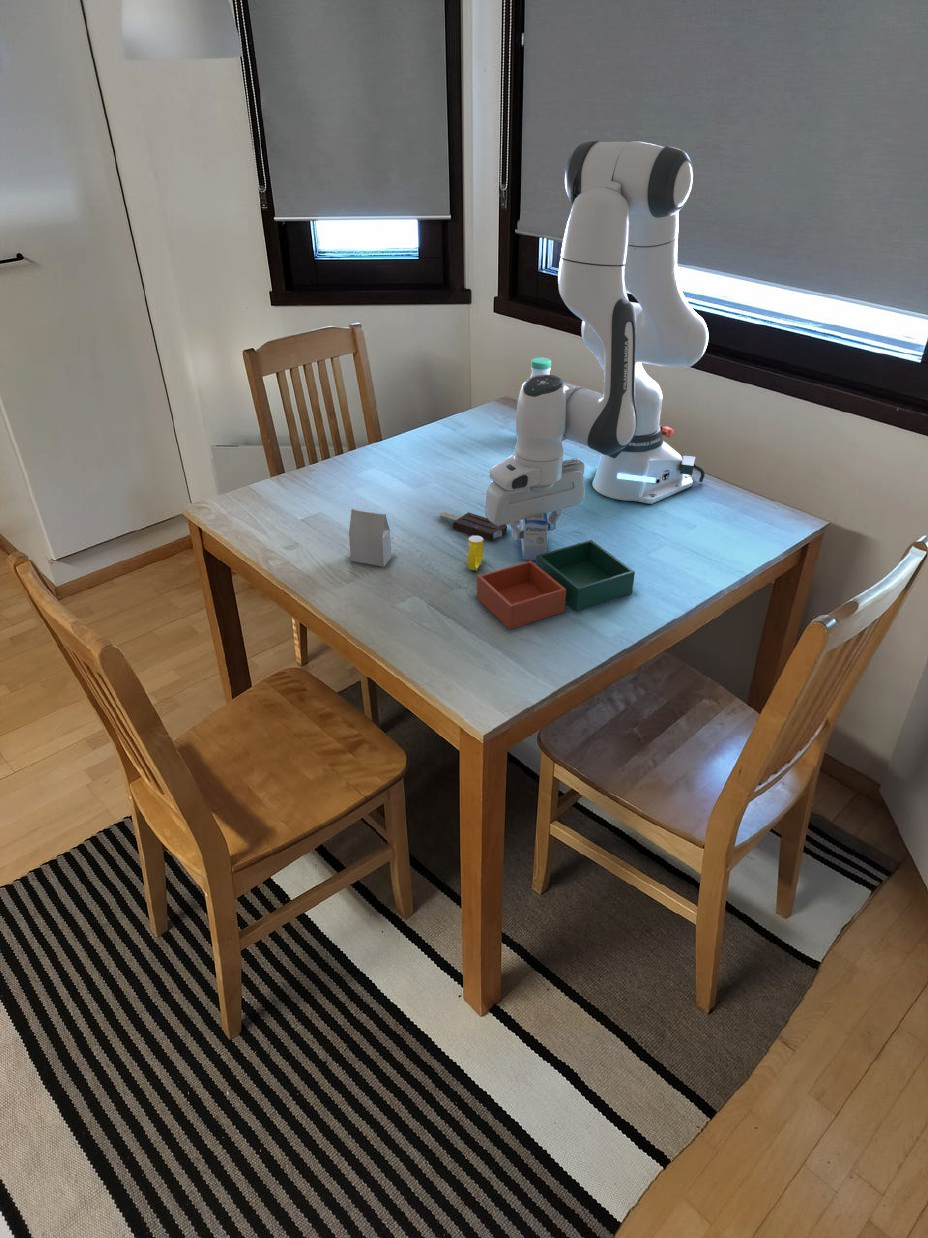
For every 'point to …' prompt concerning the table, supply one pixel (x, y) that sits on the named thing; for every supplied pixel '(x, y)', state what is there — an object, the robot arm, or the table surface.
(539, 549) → the medicine box
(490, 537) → the ice cream bar
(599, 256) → the robot arm
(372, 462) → the table surface
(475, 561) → the watch
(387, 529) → the tea bag
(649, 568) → the table surface
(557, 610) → the terracotta bin
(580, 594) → the green bin
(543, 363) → the milk bottle
